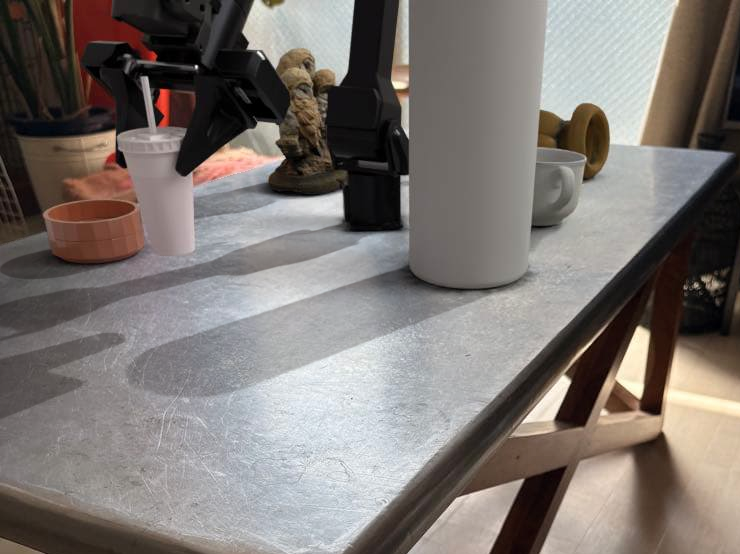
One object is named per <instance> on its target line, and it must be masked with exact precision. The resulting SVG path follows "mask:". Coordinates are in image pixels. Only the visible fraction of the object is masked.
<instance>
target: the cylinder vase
mask: <svg viewBox="0 0 740 554" xmlns="http://www.w3.org/2000/svg"><path fill="white" fill-rule="evenodd" d="M548 6H549V0H408V139H409V175H408V265H409V269H410V271H411V272H412V274H413V275H414V276H416V277H417V278H418V279H420V280H421V281H424V282H426V283H428V284H431V285H435V286H439V287H444V288H452V289H459V290H460V289H463V290H464V289H465V290H477V289H479V290H480V289H490V288H496V287H502V286H505V285H508V284H509V285H510V284H511V283H514V282H515V281H518V280H519V279H521V278H522V277H523V276H524V275H525V274H526V272H527V270H528V268H529V259H530V246H531V233H532V225H531V220H532V207H533V194H534V180H535V167H536V154H537V140H538V127H539V113H540V110H541V98H542V85H543V73H544V58H545V47H546V46H545V45H546V32H547V31H546V30H547V20H548V19H547V18H548Z"/></svg>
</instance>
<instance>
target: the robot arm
mask: <svg viewBox="0 0 740 554" xmlns="http://www.w3.org/2000/svg"><path fill="white" fill-rule="evenodd" d="M255 1H256V0H112V2H111V3H112V4H111V13H110V17H111V19H112V20H113V21H115V22H117V23H122V22H123V23H124V24H126V25H128V26H130V27H131V28H134V30H137V31H138V32H141V33H143V34H142V36H141V39H140V42H141V44H142V45H143V46H144V48H146V49H147V51H148V52H152V53H154V54H155V55H156V57H155V60H144V59H143V58H142V57H141V56H140V55H139V54H138V53H137V52H136V50H135V49H134V48H133V47H132V46H131V45H130V43H129V42H127V41H112V40H111V41H109V40H95V41H87V42H86V46H85V48H84V50H83V53H82V56H81V58H80V59H79V67H81V69H83V71H84V72H86V73H87V75H88V76H89V77H90V78H91V79H92V80H93V81H94V82H95V83H96V84H97V85H98V86H99V87H100V88H101V89H102V90H103V91H104V92H105V93H106V94H107V96H109V97H110V98H111V100H113V101H114V107H115V146H114V147H115V149H114V150H115V151H114V152H115V153H114V154H115V155H114V161H115V163H116V164H117V165H118V166H119V167H120V168H121V169H124V170H126V169H128V168H127V164H126V161H125V157H124V154H123V152H122V151H120V150H119V149H118V141H117V136H118V135H119V134H120V133H123V132H125V131H129V130H134V129H140V128H148V127H149V124H148V118H147V112H146V106H145V100H144V94H143V88H142V82H141V77H142V76H148V81H149V88H150V94H151V100H152V106H153V112H154V118H155V124H156V127H159V126H160V124H161V123H162V121H163V120H164V119H165V114H164V113H163V112H162V111H161V110H160V109H159V107H157V103H158V101H159V99H160V95H161V90H167V91H174V92H176V93H178V94H179V93H180V94H191V95H194V101H195V104H194V108H193V110H192V113H191V117H190V119H189V122H188V125H187V128H186V129H187V131H186V133H185V136H184V139H183V142H182V145H181V148H180V151H179V154H178V158H177V162H176V166H175V170H176V172H177V173H178V174H179V175H180V176H182V177H186V176H187V175H189V174H190V173H191V172H192V171H195V170H196V169H198V167H200V166H201V165H202V164H203V163H204V162H206V161H207V160H208V159H209V158H211V157H212V156H213V155H215V154H216V153H217V152H218V151H219V150H221V149H222V148H223V147H224V146H226V145H227V144H228V143H230V142H232V141H233V140H235V139H236V138H237V137H239V136H241V135H242V134H243V133H244V132H245V131H247V130H254V129H256V128H257V126H258V122H259V123H260V122H261V123H269V124H275V123H278V124H282V123H283V121H284V119H285V117H286V114H287V112H288V109H289V106H290V104H291V101H290V91H289V89H288V87H287V86H286V84H285V83H284V81H283V80H282V78H281V77H280V75H279V74H278V73H277V71H276V67H274V64H272V62H271V60H270V59H269V58H268V56H267V55H266V53H265V52H264V51H263V49H248V47H249V44H250V42H249V40H248V39H247V37H246V35H245V34H244V32H243V31H244V29H245V27H246V24H247V21H248V18H249V16H250V13H251V10H252V8H253V5H254V4H255ZM399 8H400V0H354V1H353V11H352V23H351V31H350V33H351V34H350V42H349V43H350V44H349V55H348V63H347V64H348V66H347V72H346V74H345V75H344V77H343V78H342V80H341V81H340V83H339V84H338V86H331V87H330V89H329V91H328V94H327V113H326V118H325V121H324V125H326V127H325V137H326V141H327V145H328V149H329V153H330V157H331V161H332V165H333V169H334V170H336V171H339V170H342V171H346V172H347V182H343V183H342V182H341V183H342V187H341V191H342V214H343V219H344V222H345V223H347V225H348V227H349V230H350V231H371V230H373V231H374V230H394V229H395V230H396V229H399V230H400V229H403V228H404V222H403V219H402V206H401V205H402V201H401V200H402V188H401V183H402V181H401V179H402V178H401V177H402V176H409V136H408V135H407V134H406V132H405V130H404V128H403V126H402V113H403V111H402V103H401V102H400V99H399V97H398V94H397V92H396V89H395V86H394V84H393V82H392V74H393V65H394V64H393V63H394V53H395V46H396V45H395V44H396V37H397V35H396V34H397V26H398V25H397V24H398V19H399V17H398V16H399Z"/></svg>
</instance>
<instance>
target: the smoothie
mask: <svg viewBox="0 0 740 554" xmlns="http://www.w3.org/2000/svg"><path fill="white" fill-rule="evenodd" d="M141 82H142V88H143V94H144V100H145V106H146V112H147V118H148V124H149V127H148V128H140V129H134V130H129V131H125V132H123V133H120V134H119V135H118V136H117V141H118V149H119V150H120V151H122V152H123V154H124V157H125V161H126V164H127V168H126V169H127V171H128V174H129V177H130V180H131V183H132V187H133V190H134V194H135V196H136V199H137V204H138V206H139V207H140V212H141V217H142V221H143V222H144V226H145V229H146V232H147V236H148V239H149V243H150V246H151V249H152V252H153V254H155V255H157V256H161V257H178V256H184V255H188V254H191V253H192V252H194V251H195V250H196V244H195V243H196V241H195V210H194V209H195V208H194V207H195V205H194V173H193V171H194V170H193V171H192V172H191V173H190V174H189V175H187V176H186V177H182V176H180V175H179V174H178V173H177V172H176V170H175V166H176V162H177V158H178V154H179V151H180V148H181V145H182V142H183V139H184V136H185V133H186V131H187V128H185V127H180V126H158V127H156V124H155V118H154V112H153V106H152V100H151V94H150V88H149V81H148V76H142V77H141Z"/></svg>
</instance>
